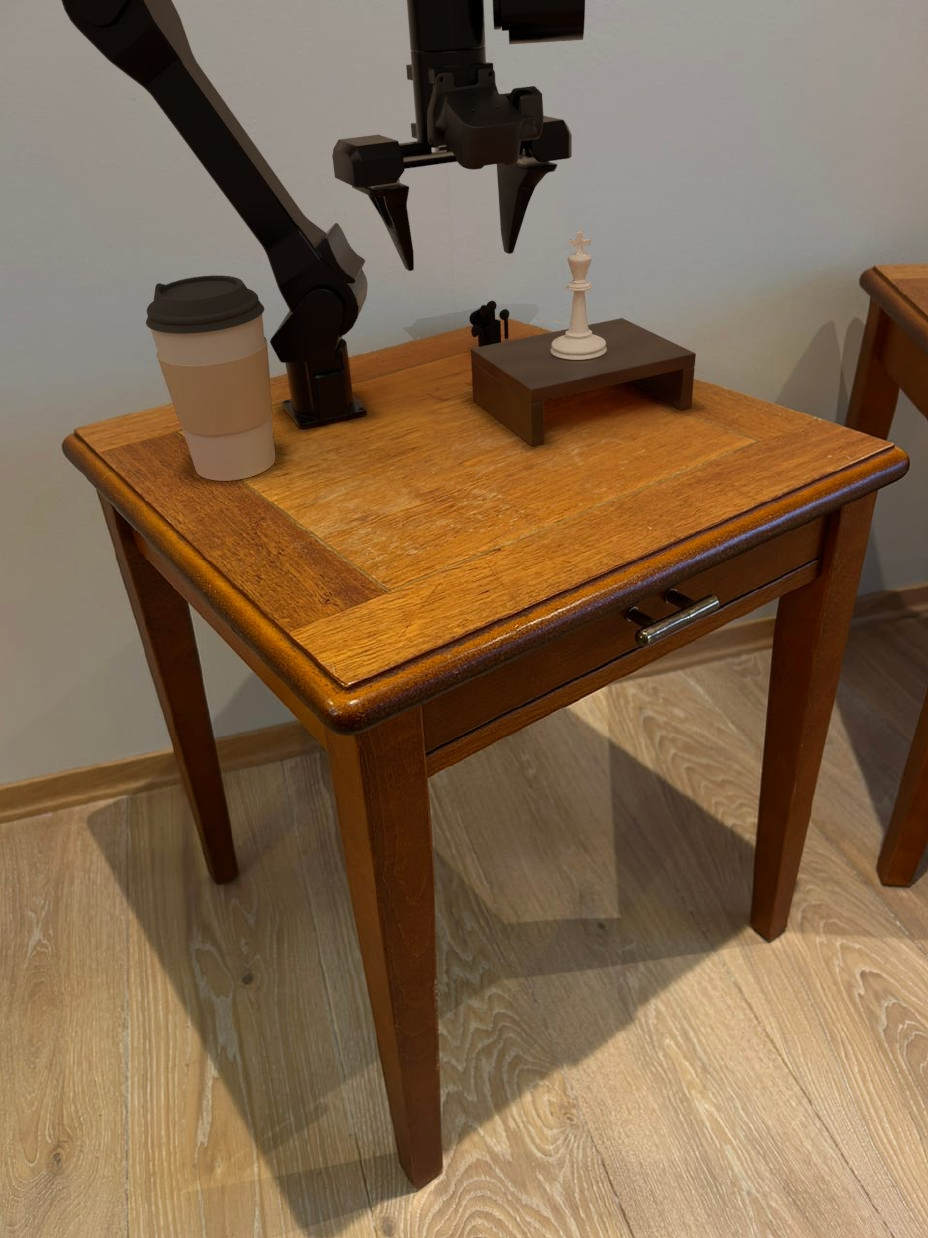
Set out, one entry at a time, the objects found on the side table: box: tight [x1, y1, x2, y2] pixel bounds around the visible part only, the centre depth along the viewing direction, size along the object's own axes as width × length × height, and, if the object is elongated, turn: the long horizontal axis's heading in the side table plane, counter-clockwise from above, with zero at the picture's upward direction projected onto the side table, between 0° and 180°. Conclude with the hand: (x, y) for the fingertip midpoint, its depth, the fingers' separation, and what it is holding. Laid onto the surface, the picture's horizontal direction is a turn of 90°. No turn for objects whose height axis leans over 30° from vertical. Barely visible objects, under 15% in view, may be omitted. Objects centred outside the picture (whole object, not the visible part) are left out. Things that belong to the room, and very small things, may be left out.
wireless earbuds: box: [468, 300, 510, 347], centre depth 100 cm, size 7×2×5 cm, turn 147°
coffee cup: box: [145, 274, 276, 482], centre depth 78 cm, size 9×9×15 cm
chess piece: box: [551, 230, 607, 360], centre depth 83 cm, size 5×5×10 cm
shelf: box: [470, 317, 697, 447], centre depth 87 cm, size 12×16×5 cm
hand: (459, 261), depth 82 cm, fingers open, 9 cm apart
